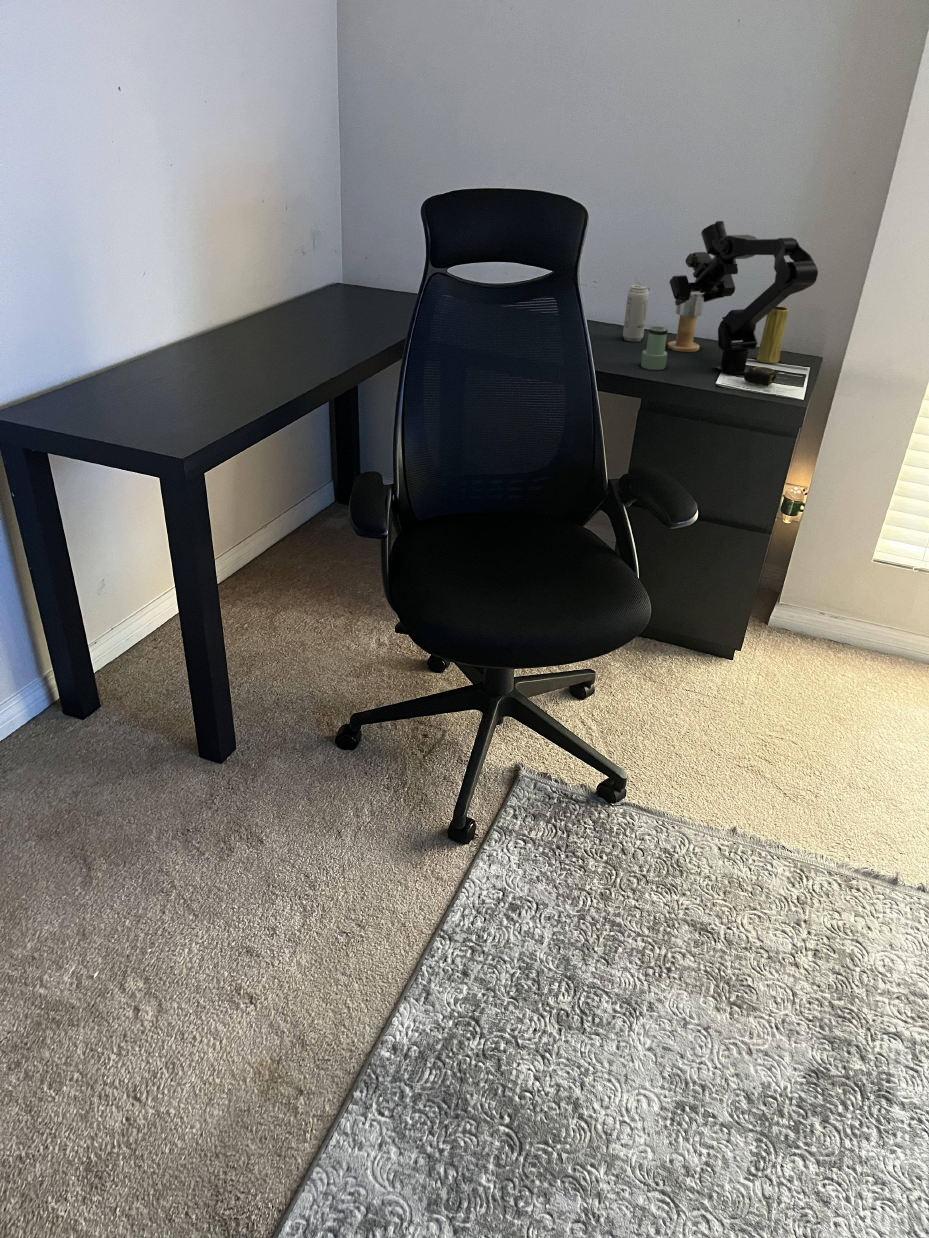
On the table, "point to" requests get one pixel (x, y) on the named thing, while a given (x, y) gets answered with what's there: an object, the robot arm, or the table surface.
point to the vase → (772, 335)
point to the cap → (692, 305)
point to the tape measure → (760, 376)
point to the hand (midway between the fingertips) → (687, 303)
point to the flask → (655, 349)
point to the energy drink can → (635, 313)
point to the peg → (685, 335)
